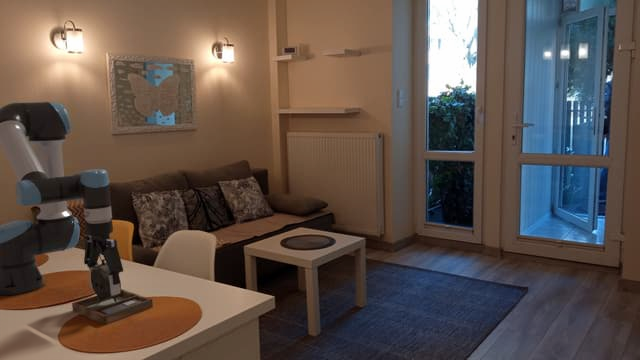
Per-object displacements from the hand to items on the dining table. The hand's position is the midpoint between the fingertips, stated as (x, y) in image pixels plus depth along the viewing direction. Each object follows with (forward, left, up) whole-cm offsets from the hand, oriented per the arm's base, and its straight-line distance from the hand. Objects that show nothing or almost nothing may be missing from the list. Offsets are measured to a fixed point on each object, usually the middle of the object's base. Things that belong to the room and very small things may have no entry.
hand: (105, 290), depth 159 cm
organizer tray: (+3, 0, -6) cm, 7 cm away
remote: (+9, 0, -5) cm, 10 cm away
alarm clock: (0, 0, -4) cm, 4 cm away
